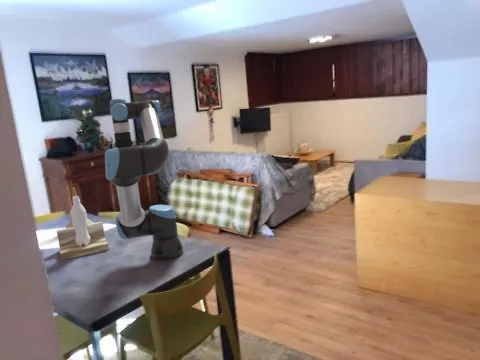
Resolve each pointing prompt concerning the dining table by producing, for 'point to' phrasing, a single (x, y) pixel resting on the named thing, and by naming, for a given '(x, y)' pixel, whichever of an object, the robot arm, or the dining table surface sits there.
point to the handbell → (70, 211)
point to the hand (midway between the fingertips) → (128, 175)
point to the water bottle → (79, 222)
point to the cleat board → (73, 250)
